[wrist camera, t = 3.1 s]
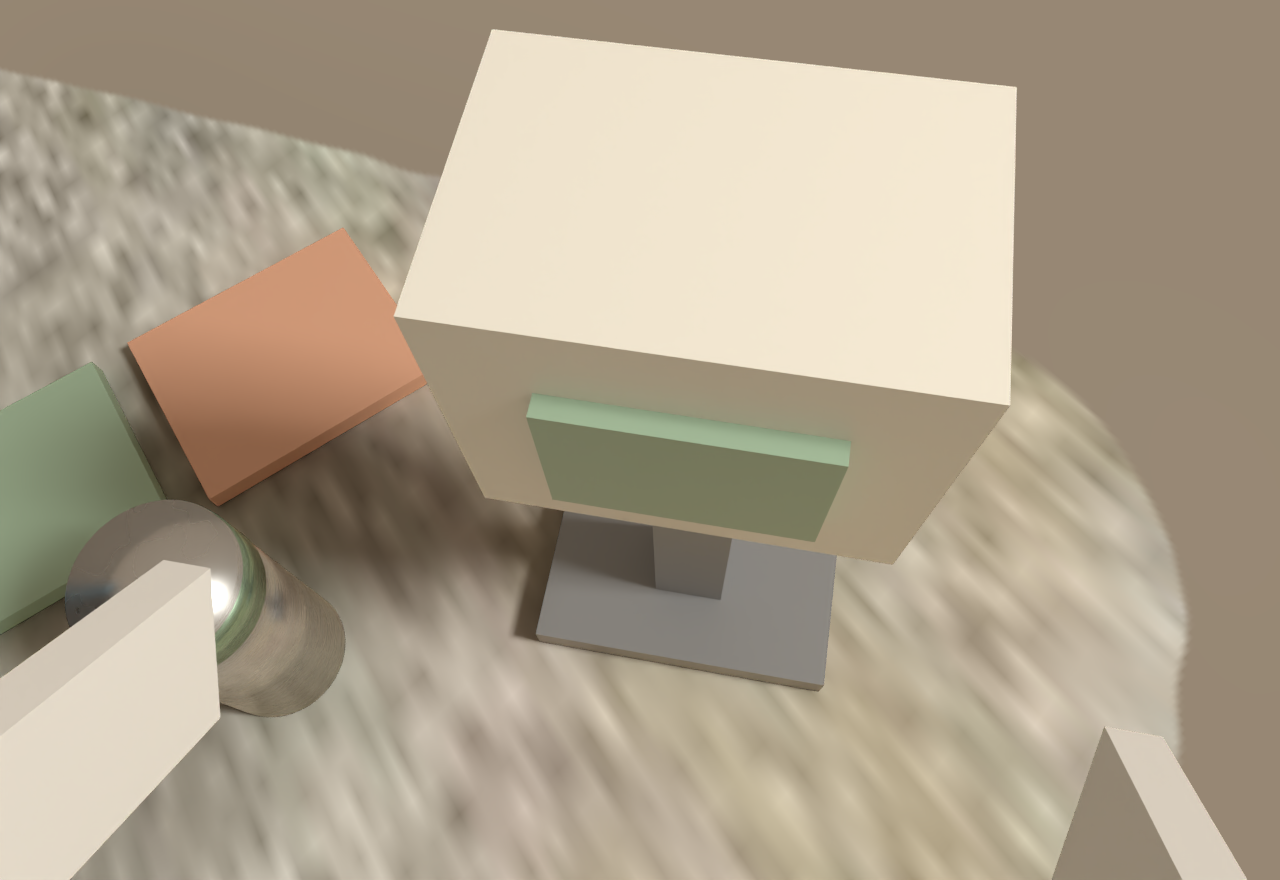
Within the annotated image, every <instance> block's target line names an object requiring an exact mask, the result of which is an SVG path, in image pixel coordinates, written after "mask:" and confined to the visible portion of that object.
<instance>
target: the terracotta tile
mask: <svg viewBox="0 0 1280 880" xmlns="http://www.w3.org/2000/svg"><path fill="white" fill-rule="evenodd" d="M396 308H397V305H396V303H395V302H394V300H393V299H392V298H391V296H390V295H389V293H388V292H387V290H386V289H385V287H384V286H383V284H382V283H381V282H380V280H379V279H378V277H377V276H376V274H375V273H374V271H373V270H372V268H371V267H370V266H369V264H368V263H367V261H366V260H365V258H364V257H363V255H362V254H361V252H360V251H359V250H358V248H357V247H356V245H355V244H354V242H353V241H352V239H351V238H350V236H349V235H348V234H347V232H346V231H345V229H344V228H341V229H339V230H338V231H336V232H334V233H332V234H330V235H328V236H326V237H325V238H323V239H321V240H319V241H317V242H315V243H313V244H311V245H310V246H308V247H306V248H304V249H302V250H300V251H298V252H296V253H295V254H293V255H291V256H289V257H287V258H285V259H283V260H281V261H280V262H278V263H276V264H274V265H272V266H270V267H268V268H266V269H265V270H263V271H261V272H259V273H257V274H255V275H253V276H251V277H250V278H248V279H246V280H244V281H242V282H240V283H238V284H236V285H235V286H233V287H231V288H229V289H227V290H225V291H223V292H221V293H220V294H218V295H216V296H214V297H212V298H210V299H208V300H207V301H205V302H203V303H201V304H199V305H197V306H195V307H193V308H192V309H190V310H188V311H186V312H184V313H182V314H180V315H178V316H177V317H175V318H173V319H171V320H169V321H167V322H165V323H163V324H162V325H160V326H158V327H156V328H154V329H152V330H150V331H148V332H147V333H145V334H143V335H141V336H139V337H137V338H135V339H133V340H132V341H130V342H128V345H129V347H130V349H131V351H132V353H133V355H134V357H135V359H136V361H137V363H138V364H139V366H140V368H141V370H142V372H143V374H144V376H145V378H146V380H147V382H148V384H149V385H150V387H151V389H152V391H153V393H154V395H155V397H156V399H157V401H158V403H159V405H160V406H161V408H162V410H163V412H164V414H165V416H166V418H167V420H168V422H169V424H170V426H171V427H172V429H173V431H174V433H175V435H176V437H177V439H178V441H179V443H180V445H181V447H182V448H183V450H184V452H185V454H186V456H187V458H188V460H189V462H190V464H191V466H192V468H193V469H194V471H195V473H196V475H197V477H198V479H199V481H200V483H201V485H202V487H203V489H204V490H205V492H206V494H207V496H208V498H209V500H211V501H212V502H213V503H214V504H216V505H217V506H220V505H222V504H223V503H225V502H227V501H229V500H230V499H232V498H234V497H235V496H237V495H239V494H240V493H242V492H244V491H246V490H247V489H249V488H251V487H252V486H254V485H256V484H257V483H259V482H261V481H263V480H264V479H266V478H268V477H269V476H271V475H273V474H274V473H276V472H278V471H280V470H281V469H283V468H285V467H286V466H288V465H290V464H291V463H293V462H295V461H297V460H298V459H300V458H302V457H303V456H305V455H307V454H308V453H310V452H312V451H314V450H315V449H317V448H319V447H320V446H322V445H324V444H326V443H327V442H329V441H331V440H332V439H334V438H336V437H337V436H339V435H341V434H343V433H344V432H346V431H348V430H349V429H351V428H353V427H354V426H356V425H358V424H360V423H361V422H363V421H365V420H366V419H368V418H370V417H371V416H373V415H375V414H377V413H378V412H380V411H382V410H383V409H385V408H387V407H388V406H390V405H392V404H394V403H395V402H397V401H399V400H400V399H402V398H404V397H406V396H407V395H409V394H411V393H412V392H414V391H416V390H417V389H419V388H421V387H423V386H424V385H426V384H427V382H426V380H425V378H424V376H423V374H422V372H421V370H420V368H419V366H418V364H417V362H416V360H415V358H414V356H413V354H412V352H411V350H410V348H409V346H408V344H407V342H406V340H405V338H404V336H403V334H402V332H401V330H400V328H399V326H398V324H397V322H396V320H395V318H394V313H395V311H396Z"/></svg>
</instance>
